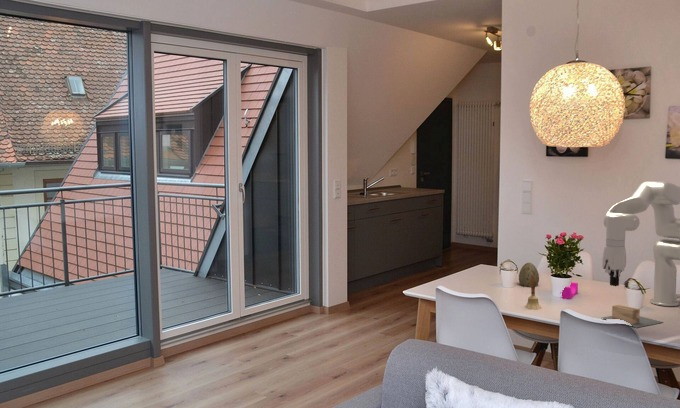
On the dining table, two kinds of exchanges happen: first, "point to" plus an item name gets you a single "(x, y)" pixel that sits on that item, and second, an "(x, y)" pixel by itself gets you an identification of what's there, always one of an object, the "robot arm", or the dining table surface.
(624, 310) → the oak block
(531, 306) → the hand bell
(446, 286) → the dining table surface
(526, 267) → the decorative egg
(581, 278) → the dining table surface
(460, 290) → the dining table surface
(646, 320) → the mat
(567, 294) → the toy block
